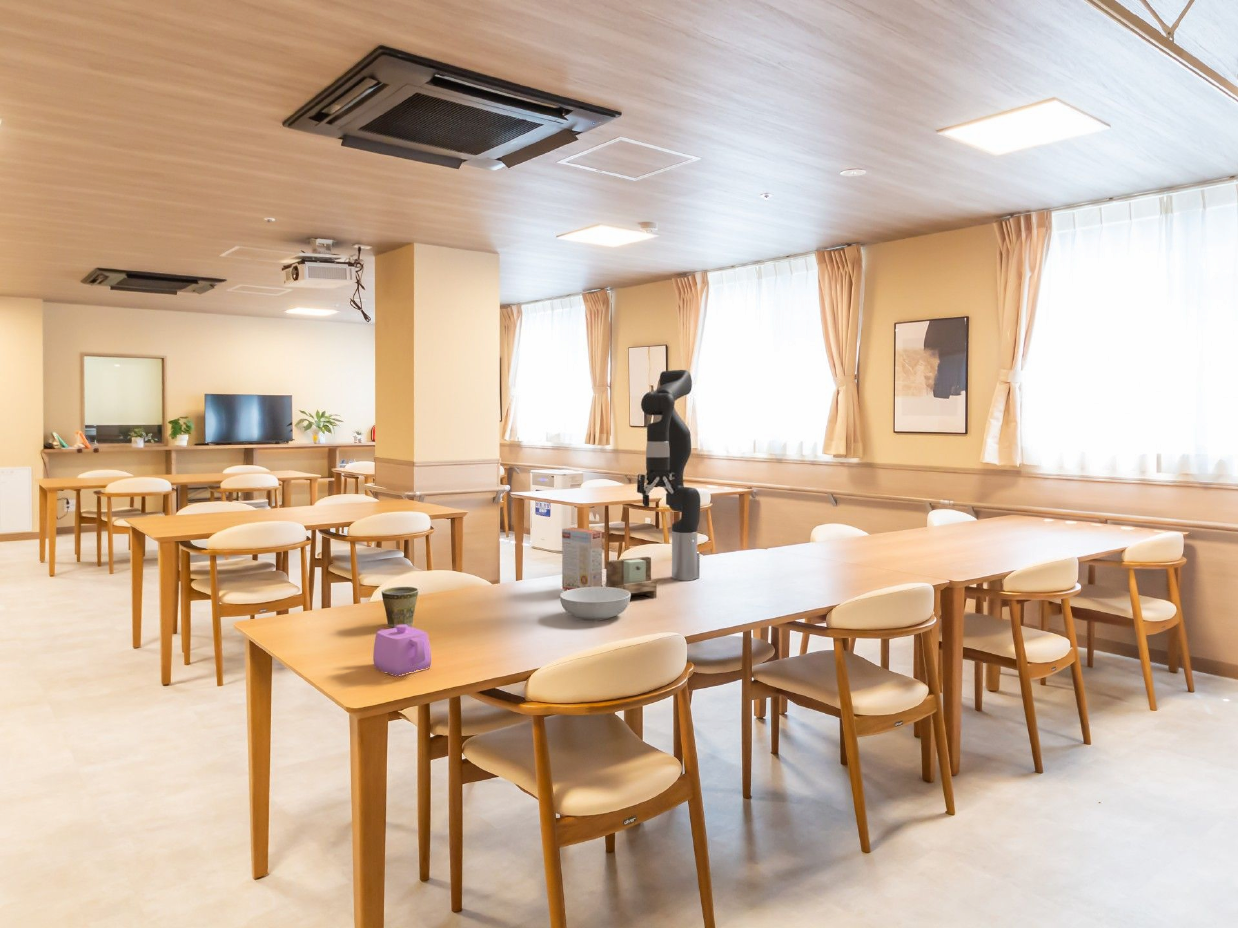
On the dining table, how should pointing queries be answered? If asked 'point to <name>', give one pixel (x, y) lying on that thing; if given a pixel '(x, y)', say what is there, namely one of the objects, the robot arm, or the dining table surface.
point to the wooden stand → (616, 581)
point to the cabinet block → (634, 571)
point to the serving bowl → (595, 602)
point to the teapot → (401, 650)
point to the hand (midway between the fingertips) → (657, 505)
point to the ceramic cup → (400, 605)
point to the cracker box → (581, 558)
